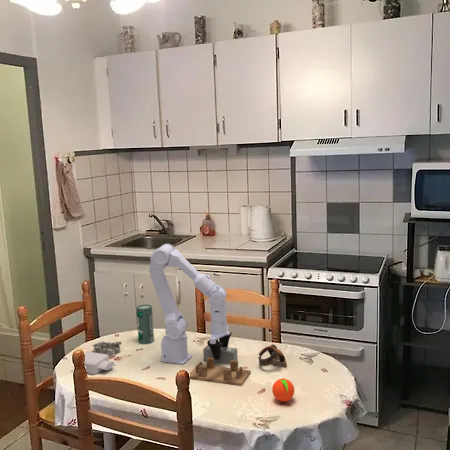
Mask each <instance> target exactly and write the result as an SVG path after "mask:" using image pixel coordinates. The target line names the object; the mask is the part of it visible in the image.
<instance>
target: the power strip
mask: <svg viewBox="0 0 450 450" xmlns="http://www.w3.org/2000/svg"><path fill="white" fill-rule="evenodd" d="M202 349H203V352H202V353H203V362H206V363H207V358H208V357H211V358H213V354H212V351H211V349H210V347H209V346H208V344H207V345H206V346H204V348H202ZM231 360H237V361H238V362H239V360H238V348H236V347H230V346H228V347H221V354H220V359H219V360H216V359H214V363H215V364H222V365H229V366H230V361H231Z"/></svg>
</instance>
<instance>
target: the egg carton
mask: <svg viewBox="0 0 450 450" xmlns="http://www.w3.org/2000/svg"><path fill="white" fill-rule="evenodd" d="M121 345H122V341H116V342H110V341H107V342H105V341H99V342H97V343H93V344H91V346H92V347H93V352H94V353H100V354H106V355H108V357H114V356H116V354H118V353H121V351H122V350H121Z"/></svg>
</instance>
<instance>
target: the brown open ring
mask: <svg viewBox="0 0 450 450" xmlns="http://www.w3.org/2000/svg"><path fill="white" fill-rule="evenodd" d="M266 352H267V353H269V355H270V356H269V357H266V358H262V357H263V355H264V354H265V353H266ZM257 357H258V365H259V366H260V367H261V366H262V367H266V366H270V365H272V366H274V365H275V364H274V363H275V362H274V360H275V361H277V360H278V361H279V363H283V365H284V367H285V368H287V367H288V363H287V361H286V357H285V355H284V353H283V352H282V351H281V350H280V349H279V348H277V346H276V345H275V344H271V345H269V346H268V345H267V346H266V347H264V348H263V349H261V350H260V351H259V352H258V356H257Z"/></svg>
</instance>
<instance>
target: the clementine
mask: <svg viewBox="0 0 450 450" xmlns="http://www.w3.org/2000/svg"><path fill="white" fill-rule="evenodd" d="M271 390H272V391H271V392H272V395H273V397H274V398H275V399H276V400H277V401H278V402H283V403H285V402H289V401H290V400H291V399H292V398H293V397H294V395H295V387H294V384H293V382H291V381H290V380H289V379H287V378H282V377H281V378H279V379H277V380H275V382H274V383H273V385H272V389H271Z"/></svg>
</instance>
